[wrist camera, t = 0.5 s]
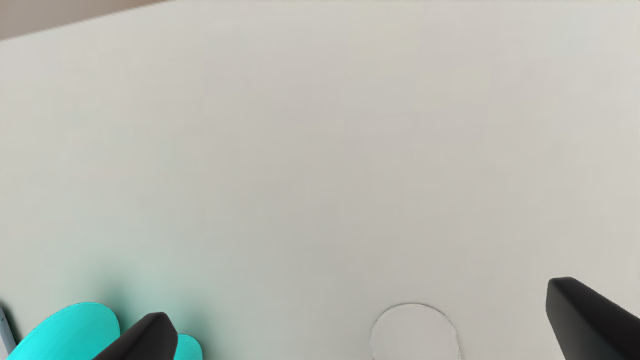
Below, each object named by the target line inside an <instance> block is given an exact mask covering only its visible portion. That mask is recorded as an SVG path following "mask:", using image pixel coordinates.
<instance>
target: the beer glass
mask: <svg viewBox="0 0 640 360" xmlns="http://www.w3.org/2000/svg"><path fill="white" fill-rule="evenodd" d="M370 347H371V352H372V356H373V360H460V354H459V342H458V337H457V334H456V331H455V329H454V327H453V325H452V324H451V322H450V321H449V320H448V319H447V318H446V317H445V316H444V315H443V314H442V313H440V312H439V311H437V310H436V309H434V308H431V307H429V306H426V305H421V304H402V305H398V306H395V307H393V308H390V309H389V310H387V311H385V312H384V313H383V314H382V315H380V316H379V318H378V319H377V320H376V322H375V323H374V325H373V327H372V330H371V334H370Z"/></svg>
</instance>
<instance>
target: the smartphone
mask: <svg viewBox="0 0 640 360" xmlns="http://www.w3.org/2000/svg"><path fill="white" fill-rule="evenodd" d="M16 347H17V346H16V344H15V341H14V339H13V336H12V333H11V331H10V328H9V325H8V323H7V320H6V317H5V315H4V312H3V310H2V309H1V307H0V360H6V359H7V357H8V356H9V355H10V354H11V352H12V351H13V350H14V349H15V348H16Z"/></svg>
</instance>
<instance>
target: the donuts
mask: <svg viewBox="0 0 640 360" xmlns="http://www.w3.org/2000/svg"><path fill="white" fill-rule="evenodd" d="M119 337H120V328H119V323H118V320H117V318H116V316H115V314H114V313H113V312H112V310H111V309H109V308H108V307H107V306H105V305H103V304H100V303H96V302H83V303H78V304H74V305H71V306H68V307H66V308H64V309H62V310H60V311H58V312H56V313H55V314H53V315H51V316H50V317H48V318H47V319H46V320H44V321H43V322H42V323H40V324H39V325H38V326H37V327H36V328H35V329H33V330H32V331H31V332H30V333H29V334H28V335H27V336H26V337H25V338H24V339H23V340H22V341H21V342H20V343H19V344H18V345H17V347H16V348H15V349H14V350H13V351H12V352H11V354H10V355H9V356H8V357H7V359H6V360H92V359H93V358H94V357H95V356H97V355H98V354H99V353H100V352H101V351H103V350H104V349H105V348H106V347H108V346H109V345H110V344H111V343H112V342H114V341H115V340H116V339H117V338H119ZM174 360H203V356H202V350H201V347H200V345H199V343H198V342H197V341H196V339H194V338H193V337H191V336H189V335H186V334H178V345H177V348H176V352H175V356H174Z"/></svg>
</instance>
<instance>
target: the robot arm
mask: <svg viewBox="0 0 640 360" xmlns="http://www.w3.org/2000/svg"><path fill="white" fill-rule="evenodd" d="M546 312H547V316H548V319H549V321H550V323H551V326H552V328H553V331H554V333H555V335H556V338H557V340H558V343H559V345H560V347H561V350H562V352H563V355H564V357H565V359H566V360H640V319H639V318H637V317H636V316H634V315H633V314H631V313H629V312H628V311H626V310H625V309H623V308H621V307H620V306H618V305H616V304H615V303H613V302H612V301H610V300H608V299H607V298H605V297H604V296H602V295H600V294H599V293H597V292H596V291H594V290H592V289H591V288H589V287H588V286H586V285H584V284H583V283H581V282H580V281H578V280H576V279H574V278H572V277H561V278H552V279H550V280H549V282H548V288H547V298H546ZM177 345H178V334H177V331H176V330H175V328H174V326H173V324H172V323H171V321H170V319H169V317H168V316H167V314H165V313H164V312H158V313H150V314H147V315H146V316H144V317H143V318H142V319H141V320H139V321H138V322H137V323H136V324H135V325H133V326H132V327H131V328H130V329H128V330H127V331H126V332H125V333H123V334H122V335H121V336H120V337H119V338H117V339H116V340H115V341H114V342H112V343H111V344H110V345H109V346H108V347H106V348H105V349H104V350H103V351H101V352H100V353H99V354H98V355H97V356H95V357H94V358H93V359H92V360H174V356H175V352H176V348H177Z"/></svg>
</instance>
